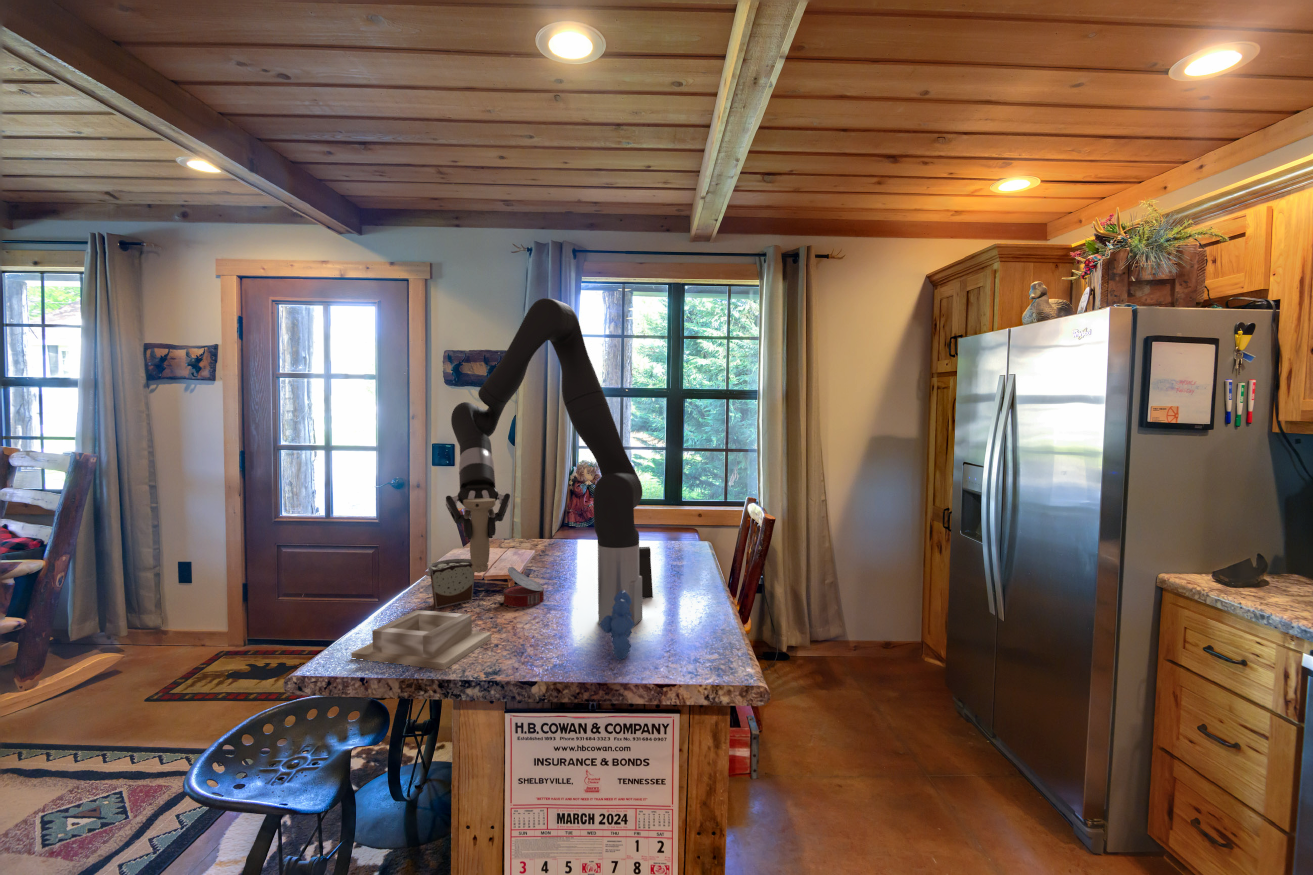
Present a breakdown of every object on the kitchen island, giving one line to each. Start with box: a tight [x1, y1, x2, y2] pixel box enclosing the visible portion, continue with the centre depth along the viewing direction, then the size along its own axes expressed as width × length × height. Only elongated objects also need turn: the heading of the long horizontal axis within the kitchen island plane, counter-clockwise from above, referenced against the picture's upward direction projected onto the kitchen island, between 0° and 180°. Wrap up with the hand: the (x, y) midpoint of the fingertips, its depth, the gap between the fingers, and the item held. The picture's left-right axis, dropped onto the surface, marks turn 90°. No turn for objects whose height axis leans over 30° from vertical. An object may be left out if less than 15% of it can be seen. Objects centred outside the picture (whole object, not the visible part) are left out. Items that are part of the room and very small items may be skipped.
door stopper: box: [639, 546, 654, 598], centre depth 156 cm, size 9×6×12 cm, turn 10°
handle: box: [462, 498, 497, 574], centre depth 125 cm, size 5×6×15 cm
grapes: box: [599, 590, 636, 661], centre depth 114 cm, size 12×7×12 cm, turn 179°
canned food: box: [503, 566, 545, 608], centre depth 150 cm, size 11×10×10 cm
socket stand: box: [350, 609, 492, 671], centre depth 118 cm, size 20×16×5 cm
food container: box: [427, 558, 476, 609], centre depth 149 cm, size 12×6×10 cm, turn 135°
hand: (480, 536), depth 123 cm, fingers closed on handle, 3 cm apart
